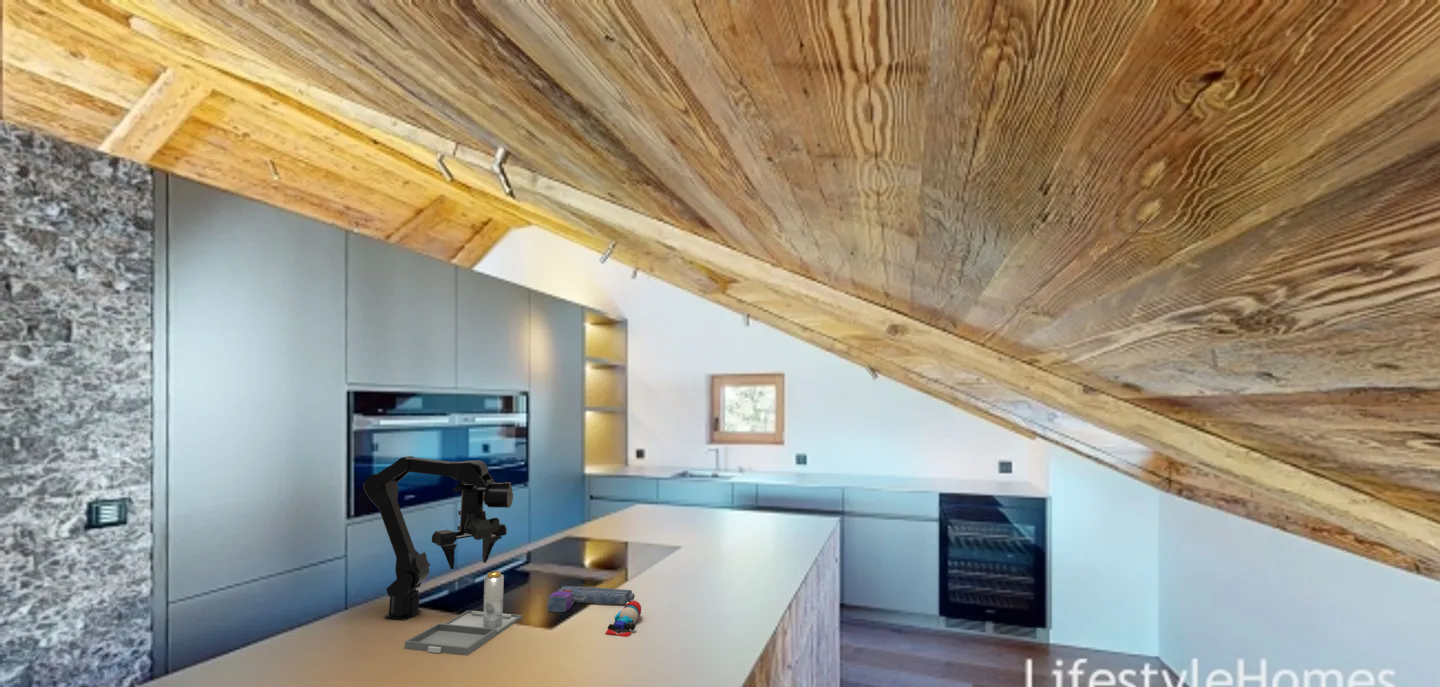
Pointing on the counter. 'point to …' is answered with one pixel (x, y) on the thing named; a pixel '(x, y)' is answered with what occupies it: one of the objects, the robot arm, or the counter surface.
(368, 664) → the counter surface
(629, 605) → the toy figure
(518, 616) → the lid
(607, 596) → the toy gun
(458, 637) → the case
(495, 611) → the grey cylinder
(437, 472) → the robot arm
